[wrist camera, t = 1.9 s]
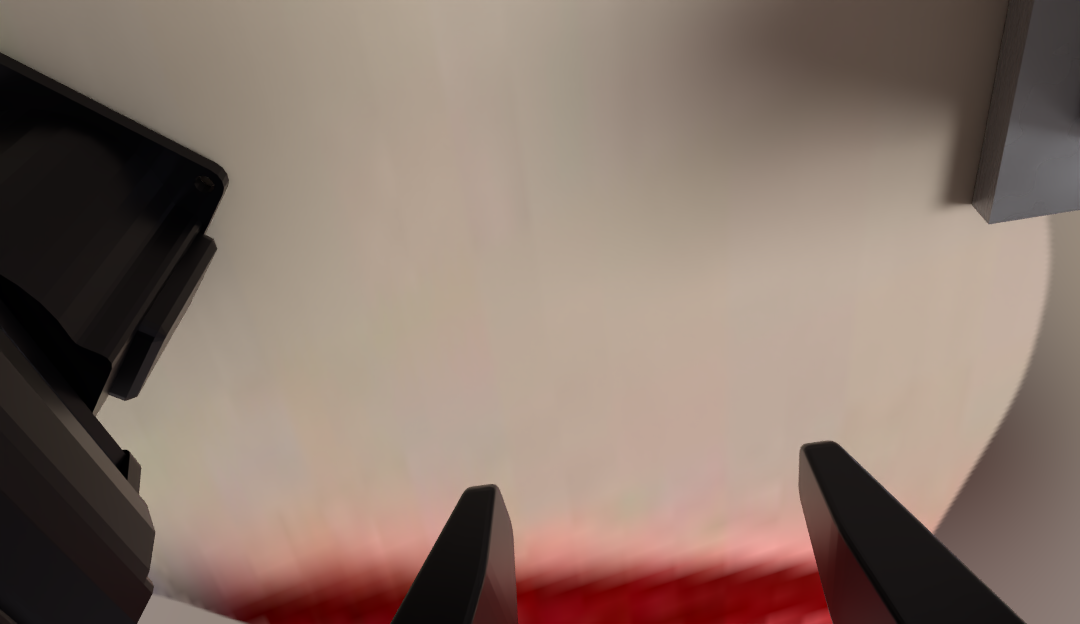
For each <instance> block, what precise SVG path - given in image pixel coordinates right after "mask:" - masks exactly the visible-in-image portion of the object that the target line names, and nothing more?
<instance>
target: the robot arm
mask: <svg viewBox="0 0 1080 624" xmlns="http://www.w3.org/2000/svg"><path fill="white" fill-rule="evenodd" d="M199 176H205V177H208V178H209V179H211V180H212V181H213V183H214V185H213V186H210V185H207V184H205V183H204V182H202V180H201V179H200V177H199ZM228 183H229V179H228V175H227V173H226V172H225V170H224V169H223V168H222V167H221V166H219V165H218V164H217V163H215V162H213V161H211V160H209V159H207V158H205V157H203V156H201V155H199V154H197V153H195V152H193V151H191V150H189V149H188V148H186V147H184V146H182V145H180V144H178V143H176V142H174V141H172V140H170V139H168V138H166V137H164V136H162V135H160V134H158V133H156V132H154V131H152V130H150V129H149V128H147V127H145V126H143V125H141V124H139V123H137V122H135V121H133V120H131V119H129V118H127V117H125V116H123V115H121V114H119V113H117V112H115V111H113V110H111V109H110V108H108V107H106V106H104V105H102V104H100V103H98V102H96V101H94V100H92V99H90V98H88V97H86V96H84V95H82V94H80V93H78V92H76V91H74V90H72V89H71V88H69V87H67V86H65V85H63V84H61V83H59V82H57V81H55V80H53V79H51V78H49V77H47V76H45V75H43V74H41V73H39V72H37V71H35V70H33V69H32V68H30V67H28V66H26V65H24V64H22V63H20V62H18V61H16V60H14V59H12V58H10V57H8V56H6V55H4V54H2V53H0V624H137V623H138V621H139V619H140V617H141V615H142V613H143V611H144V609H145V607H146V605H147V603H148V601H149V599H150V597H151V595H152V593H153V588H154V586H153V583H152V581H151V580H150V579H149V578H148V577H147V576H148V573H149V570H150V564H151V557H152V551H153V544H154V538H155V530H154V526H153V523H152V520H151V516H150V513H149V510H148V507H147V504H146V503H145V501H144V500H143V499H142V498H141V497H140V495H139V487H140V475H141V466H140V464H139V463H138V462H137V460H136V459H135V458H134V457H133V455H132V454H131V453H130V452H129V451H128V450H122V449H121V448H120V447H119V445H118V444H117V443H116V442H115V440H114V439H113V438H112V437H111V436H110V434H109V433H108V432H107V431H106V429H105V428H104V427H103V426H102V424H101V423H100V422H99V421H98V419H97V418H96V415H97V413H98V412H99V410H100V408H101V407H102V405H103V403H104V402H105V400H106V399H107V397H108V395H111V396H114V397H116V398H119V399H121V400H124V401H126V400H129V399H132V398H135V397H137V396H138V394H139V393H140V391H141V389H142V387H143V386H144V384H145V382H146V380H147V379H148V377H149V375H150V373H151V372H152V370H153V368H154V366H155V365H156V363H157V361H158V359H159V358H160V356H161V354H162V352H163V351H164V349H165V347H166V345H167V344H168V342H169V340H170V338H171V337H172V335H173V333H174V331H175V330H176V328H177V326H178V324H179V323H180V321H181V319H182V317H183V316H184V314H185V312H186V310H187V309H188V307H189V305H190V303H191V301H192V299H193V297H194V295H195V293H196V291H197V289H198V287H199V285H200V283H201V281H202V279H203V277H204V275H205V273H206V271H207V269H208V267H209V265H210V263H211V261H212V259H213V257H214V254H215V252H216V250H217V247H216V244H215V242H214V239H213V238H211V237H209V236H206V235H205V234H206V231H207V229H208V227H209V225H210V223H211V221H212V219H213V217H214V215H215V212H216V210H217V208H218V206H219V204H220V202H221V200H222V198H223V196H224V193H225V191H226V189H227V187H228ZM799 494H800V500H801V504H802V508H803V512H804V516H805V520H806V524H807V528H808V532H809V536H810V540H811V543H812V547H813V551H814V555H815V559H816V563H817V567H818V571H819V575H820V579H821V583H822V587H823V590H824V594H825V598H826V602H827V605H828V609H829V612H830V616H831V619H832V622H833V624H1026V623H1025V622H1024V621H1023V620H1022V619H1021V618H1020V617H1019V616H1018V615H1017V614H1016V613H1015V612H1014V611H1013V610H1012V609H1011V608H1010V607H1009V606H1008V605H1006V604H1005V603H1004V602H1003V601H1002V600H1001V599H1000V598H999V597H998V596H997V595H996V594H995V593H994V592H993V591H992V590H991V589H990V588H989V587H988V586H987V585H986V584H985V583H983V582H982V581H981V580H980V579H979V578H978V577H977V576H976V575H975V574H974V573H973V572H972V571H971V570H970V569H969V568H968V567H967V566H966V565H964V563H962V562H961V561H960V560H959V559H958V558H957V557H956V556H955V555H954V554H953V553H952V552H951V551H950V550H949V549H948V548H947V547H946V546H945V545H944V544H943V543H942V542H940V541H939V540H938V539H937V538H936V537H935V536H934V535H933V534H932V533H931V532H930V531H929V530H928V529H927V528H926V527H925V526H924V525H923V524H922V523H921V522H920V521H919V520H918V519H916V518H915V517H914V516H913V515H912V514H911V513H910V512H909V511H908V510H907V509H906V508H905V507H904V506H903V505H902V504H901V503H900V502H899V501H898V500H897V499H896V498H894V497H893V496H892V495H891V494H890V493H889V492H888V491H887V490H886V489H885V488H884V487H883V486H882V485H881V484H880V483H879V482H878V481H877V480H876V479H875V478H874V477H872V476H871V475H870V474H869V473H868V472H867V471H866V470H865V469H864V468H863V467H862V466H861V465H860V464H859V463H858V462H857V461H856V460H855V459H854V458H853V457H852V456H850V455H849V454H848V453H847V452H846V451H845V450H844V449H843V448H842V447H841V446H840V445H839V444H838V443H836V442H834V441H821V442H814V443H806V444H803V445H802V446H801V449H800V453H799ZM390 624H518V617H517V597H516V577H515V558H514V539H513V529H512V524H511V520H510V517H509V514H508V511H507V509H506V506H505V503H504V500H503V497H502V495H501V492H500V489H499V488H498V487H497V485H495V484H488V485H480V486H473V487H469V488H467V489H466V490H465V491H464V493H463V494H462V496H461V498H460V499H459V501H458V503H457V505H456V507H455V508H454V510H453V512H452V514H451V516H450V517H449V519H448V521H447V523H446V525H445V526H444V528H443V530H442V532H441V534H440V535H439V537H438V539H437V541H436V543H435V544H434V546H433V548H432V550H431V552H430V553H429V555H428V557H427V559H426V561H425V562H424V564H423V566H422V568H421V570H420V571H419V573H418V575H417V577H416V579H415V580H414V582H413V584H412V586H411V588H410V589H409V591H408V593H407V595H406V596H405V598H404V600H403V602H402V604H401V605H400V607H399V609H398V611H397V613H396V614H395V616H394V618H393V620H392V622H391V623H390Z"/></svg>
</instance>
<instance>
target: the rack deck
mask: <svg viewBox="0 0 1080 624" xmlns="http://www.w3.org/2000/svg"><path fill="white" fill-rule="evenodd" d="M972 206H973V207H974V208H975V209H976V210H977V212H978V213H979V214H980V215H981V216H982V217H983V218H984V220H985V221H986V222H987V223H988V224H994V223H1000V222H1006V221H1012V220H1019V219H1025V218H1031V217H1038V216H1044V215H1050V214H1057V213H1062V212H1069V211H1075V210H1080V0H1010V1H1009V6H1008V12H1007V17H1006V23H1005V28H1004V33H1003V39H1002V44H1001V50H1000V55H999V61H998V66H997V71H996V77H995V82H994V88H993V93H992V98H991V104H990V109H989V115H988V120H987V125H986V131H985V136H984V142H983V147H982V153H981V158H980V163H979V169H978V174H977V180H976V185H975V190H974V196H973V201H972Z"/></svg>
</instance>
